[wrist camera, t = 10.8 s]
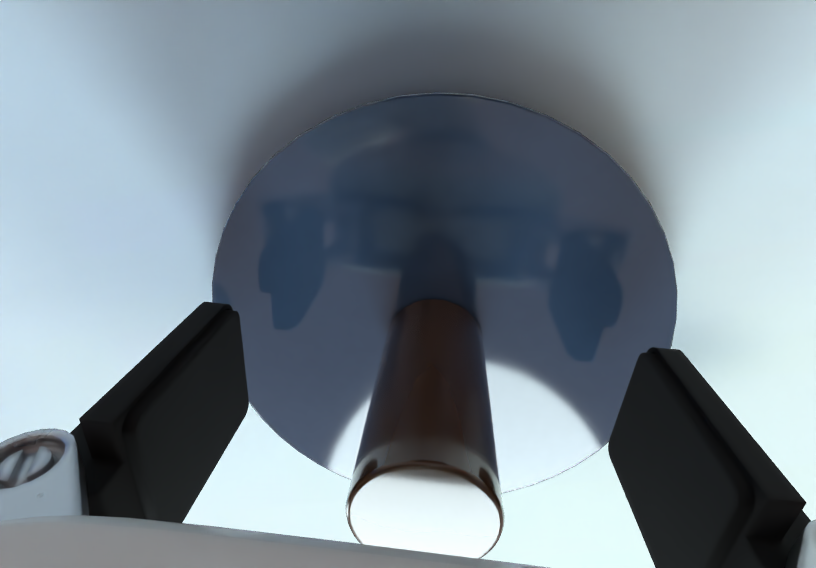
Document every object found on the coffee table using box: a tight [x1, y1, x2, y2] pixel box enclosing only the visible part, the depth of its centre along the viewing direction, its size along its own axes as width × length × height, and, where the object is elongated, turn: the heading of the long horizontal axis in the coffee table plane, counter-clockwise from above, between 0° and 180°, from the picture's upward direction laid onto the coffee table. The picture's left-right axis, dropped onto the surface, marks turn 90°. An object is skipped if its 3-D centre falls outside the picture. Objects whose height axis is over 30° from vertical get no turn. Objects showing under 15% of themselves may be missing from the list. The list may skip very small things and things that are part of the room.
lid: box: [212, 92, 677, 559], centre depth 10 cm, size 12×12×7 cm
